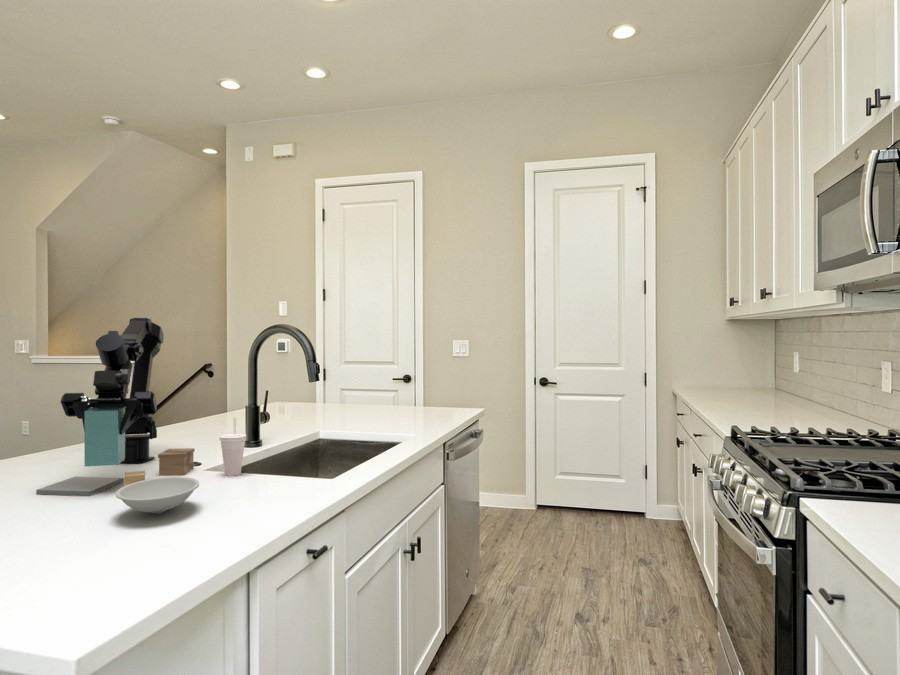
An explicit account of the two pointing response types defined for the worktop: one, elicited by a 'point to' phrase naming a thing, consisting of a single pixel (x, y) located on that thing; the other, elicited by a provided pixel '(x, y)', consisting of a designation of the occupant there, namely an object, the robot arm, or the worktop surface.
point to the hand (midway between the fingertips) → (103, 434)
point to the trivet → (80, 486)
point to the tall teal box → (104, 436)
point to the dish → (157, 493)
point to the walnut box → (176, 461)
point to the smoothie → (233, 451)
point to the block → (133, 477)
